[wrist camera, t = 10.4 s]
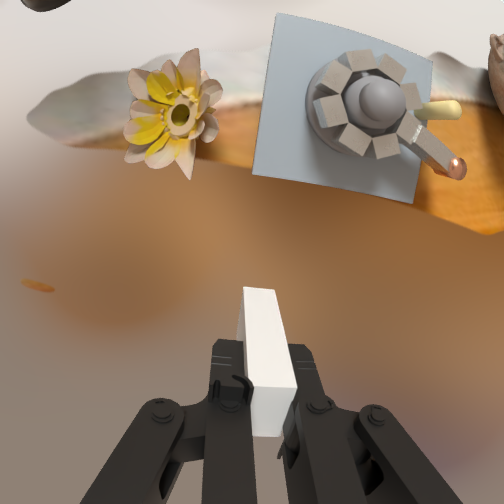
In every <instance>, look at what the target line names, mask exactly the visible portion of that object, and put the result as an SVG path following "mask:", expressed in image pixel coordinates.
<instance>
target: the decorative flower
mask: <svg viewBox="0 0 504 504" xmlns="http://www.w3.org/2000/svg"><path fill="white" fill-rule="evenodd" d="M127 80H128V85H129V88H130V90H131V92H132V93H133V95H134V96H135V97H136V98H137V99H139V100H136V101H133V103H132V105H131V107H130V116H131V118H132V119H131V120H130V121H129V122H127V123H126V124H125V125H124V132H123V135H124V136H125V138H126V140H127V141H129V142H130V145H129V148H128V150H127V152H126V154H125V157H124V160H125V161H126V162H127V163H129V164H131V163H137V162H140V161H143V160H144V162H145V163H146V164H147V166H148V167H149V168H153V169H160V168H163V167H166V166H168V165H169V164H170V163H172V162H173V161H174V160H175V161H176V162H177V164H178V165H179V167H180V168H181V169H182V171H183V173H184V174H185V176H186V177H187V178H188V179H189V180H190V179H191V177H192V173H193V167H194V161H195V151H196V139H198V138H199V137H200V139H201V140H202V141H203V142H205V143H208V142H211V141H213V140H214V139H215V138H216V136H217V134H218V131H219V125H218V120H217V119H216V118H215V117H214V116H213V115H212V113H213V112H214V111H215V109H213V108H211V106H213V105H214V104H215V103H216V102H218V101H219V100H220V99H221V95H222V92H223V89H222V87H221V85H220V83H219V82H218V81H217V80H214V79H209V76H208V74H207V72H206V71H205V70H202V71H200V56H199V49H198V48H195V49H193V50H190V51H188V52H186V53H185V54H184V55H183V57H182V58H181V59H180V61H179V64H178V66H177V67H176V66H175V64H174V63H173V62H172V61H171V60H170V59H169V60H167V61H166V62H165V63H164V64H163V66H162V69H161V71H159V70H155V71H153V72H148V71H144V70H139V69H131V71H130V72H129V76H128V79H127ZM188 114H190V116H189V119H188V120H187V115H188Z"/></svg>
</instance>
